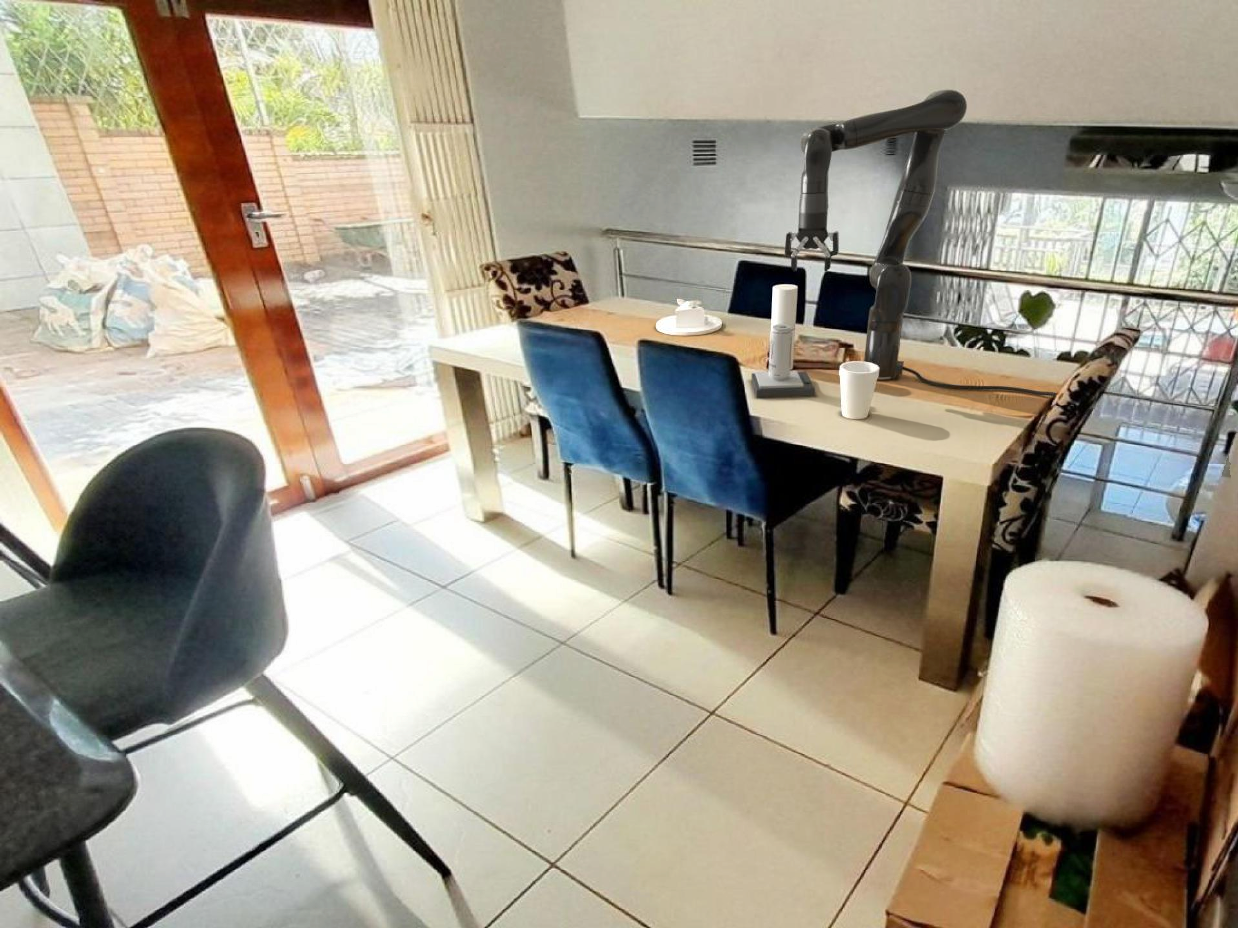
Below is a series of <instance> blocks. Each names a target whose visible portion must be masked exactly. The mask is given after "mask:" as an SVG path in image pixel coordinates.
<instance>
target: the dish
mask: <svg viewBox="0 0 1238 928" xmlns="http://www.w3.org/2000/svg"><path fill="white" fill-rule="evenodd" d="M676 302H677V304H678V305H679V306H678V307H676V309H675V310H674V315H670V316H666V317H663V318H661V319H659V320H657V321H656V324H655V328H656V330H657V331H658V332H660V333H663V334H665V335H672V336H684V337H685V336H686V337H688V336H700V335H706V334H710V333H714V332H716V331H719V330H720V329H722V325H723V320H722V319H720V318H719V317H716V316H714V315H710V314H705V308H704V307H702V306H699V305H701V304H702V301H701V300H699V299H695V300H690V301H689V300H684V299H682V298H677V300H676Z"/></svg>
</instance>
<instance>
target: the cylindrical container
mask: <svg viewBox="0 0 1238 928" xmlns="http://www.w3.org/2000/svg"><path fill="white" fill-rule="evenodd" d="M798 289H799V288H798V285H795V284H788V283H786V284H785V283H784V284H776V285H773V286H772V299H771V300H772V301H771V321H770V322H771V323H770V324H771V325H770V332H771V331H772V329H773V326H775V325H789V326H790V329H791V331H792V347H791V366H790V371H792V370H793V369H794V357H795V356H794V354H795V341H796V340H795V339H796V338H795V337H796V321H797V306H798V305H797V304H798Z"/></svg>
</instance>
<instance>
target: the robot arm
mask: <svg viewBox="0 0 1238 928" xmlns="http://www.w3.org/2000/svg"><path fill="white" fill-rule="evenodd" d="M967 108H968V104H967V100H966V97H965V96H964V94H963V93H961V92H960V91H957V90H956V89H955V90H954V89H941V90H936V91H933V92H932V93H930V94H928V96H926V97H925V99H924V100H923V101H921V102H917V103H915V104H912V105H909V106H905V107H901V108H897V109H891V110H885V111H880V112H879V111H878V112H874V113H870V114H864V115H862V116H858V117H854V118H850V119H847V120H844V121H842V122H837V123H833V124H826V125H822V126H817V127H813V128H810V129H808V130H807V131H805V132H804V133H803V136H802V137H801V140H800V149H801V152H802V153H803V154H804V161H803V162H804V165H803V171H802V173H801V177H800V195H799V200H798V201H799V203H798V226H797V227H798V228H797V229H798V230H797V232H792V231H788V232H787V233H786V235H785V245H784V255H785V256H788V257H790V268H791V270H792V271H793V272H797V270H798V254H799V253H800V252H801V250H802V249H804V250H809V249H810V250H811V249H812V250H818V249H820V251H821V252H822V253H823V255H824V256H825V257H824V267H823V270H824V271H823V272H828V271H829V270H830V269H831V265H832V264H831V263H832V257H834V256H837V255H838V253H839V252H840V251H839V249H840V247H839V245H840V244H839V243H840V242H839V238H840V237H839V236H840V232H839V231H837V230H836V231H834V232H833V231H832V232H829V231H828V215H829V214H828V211H829V171H830V167H831V166H830V165H831V162H832V161H831V160H832V155H833V153H834V152H838V151H841V150H842V151H843V150H844V151H845V150H846V151H847V150H852V149H857V148H860V147H864V146H868V145H872V144H875V143H879V142H882V141H886V140H889V139H893V138H896V137H900V136H903V135H907V134H913V133H914V135H913V140H912V145H911V147H910V151H909V155H908V158H907V159H906V163H905V166H904V169H903V172H902V174H901V178H900V181H899V185H898V186H897V190H896V193H895V197H894V200H893V203H892V207H891V211H890V214H889V218H888V220H887V225H886V227H885V232H884V235H883V238H882V241H881V244H880V246H879V249H878V251H877V254H876V256H875V259H874V260H873V263H872V264H871V265H872V266H871V268H870V272H869V283H870V285H871V286H872V288H873V289H874V290H875V291H876V292H875V299H874V304H873V306H871V307H870V309H869V311H868V319H867V320H868V321H867V329H866V339H865V348H864V359H863V361H864V362H870V363H873V364H876V365H878V367H879V376H878V378H877V381H887V380H888V381H889V380H896V377H897V375H900V376H901V375H903V371H905V372H907V373H910V374H913V375H914V376H915V377H916V378H918V380H920V381H921V382H923V383H925V384H928V385H930V386H935V387H942V388H947V389H956V390H997V391H1011V392H1017V393H1019V392H1020V393H1026V394H1031V395H1037V396H1049V397H1055V396H1056V395H1057V394H1059V393H1058V392H1054V391H1040V390H1033V389H1029V388H1023V387H1015V386H1007V385H969V384H968V385H966V384H965V385H962V384H950V383H943V382H936V381H932V380H929V379H928V378H927V379H926V378H925V377H923V376H922V375H921V374H920V373H919V372H917V370H914V369H912V368H909V367H906V366H904V365H905V364H904V363H905V361H904V360H899V356H900V350H901V349H900V347H901V336H902V328H903V320H904V314H905V312H906V311H907V308H908V303H909V298H910V291H911V286H912V273H911V270H910V269H909V267H908V266H907V265H906V264H904V261H905V256H906V252H907V249H908V246H909V244H910V242H911V240H912V238H913V236H914V235H915V233H916V232H917V231H918V229H919V228H920V226H921V225H922V223H923V222H924V220H925V219H926V216H927V215H928V212H929V210H930V207H931V204H932V201H933V197H934V194H935V191H936V187H937V181H938V180H937V179H938V165H939V155H940V151H941V147H942V145H943V141H944V139H945V136H946V133H947V131H948V130H950V129H952V128H954V127H956V126H957V125H959V123H961V122H962V120H963V119H964V117H965V115H966V113H967ZM795 238H796V240H797V241H798V243H799V244H798V245H797V247H795V249H793V250H792V242H793V241H794V240H795ZM827 238H829V240H830V241H832V250H830V248H829V247H828V244H827V243H826V240H827Z"/></svg>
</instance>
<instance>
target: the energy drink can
mask: <svg viewBox="0 0 1238 928" xmlns="http://www.w3.org/2000/svg"><path fill="white" fill-rule="evenodd" d="M791 347H792V331H791V329H790V326H789V325H775V326H773V329H772V331H771V330H770V333H769V353H768V354H769V356H768V359H769V360H768V371H769V376H770V378H771V379H772V380H775V381H784V380H787V379H788V377H789V376H790V371H791V370H790V366H791Z"/></svg>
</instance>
